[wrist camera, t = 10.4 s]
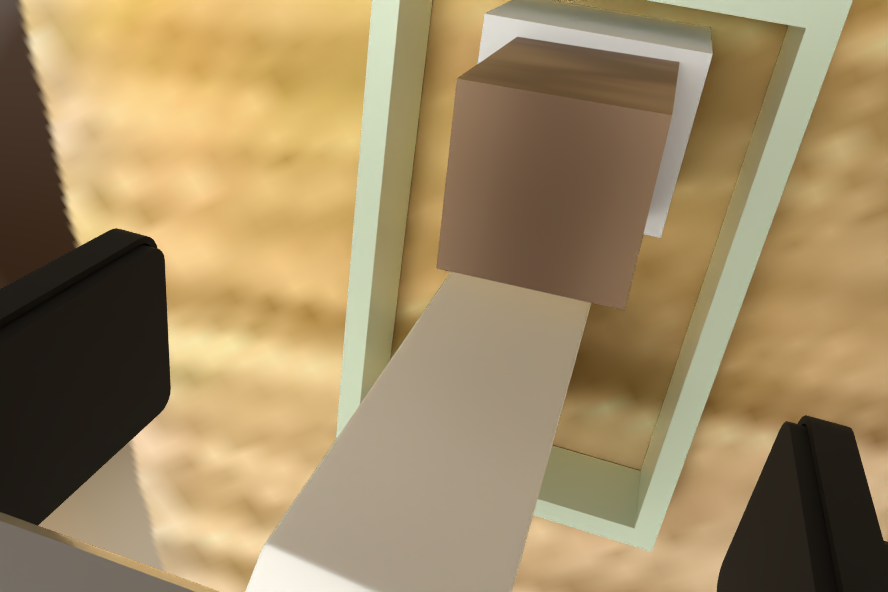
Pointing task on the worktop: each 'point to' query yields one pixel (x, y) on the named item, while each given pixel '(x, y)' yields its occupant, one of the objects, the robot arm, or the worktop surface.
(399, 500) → the milk
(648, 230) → the white block
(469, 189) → the walnut block
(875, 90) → the worktop surface
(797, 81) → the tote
